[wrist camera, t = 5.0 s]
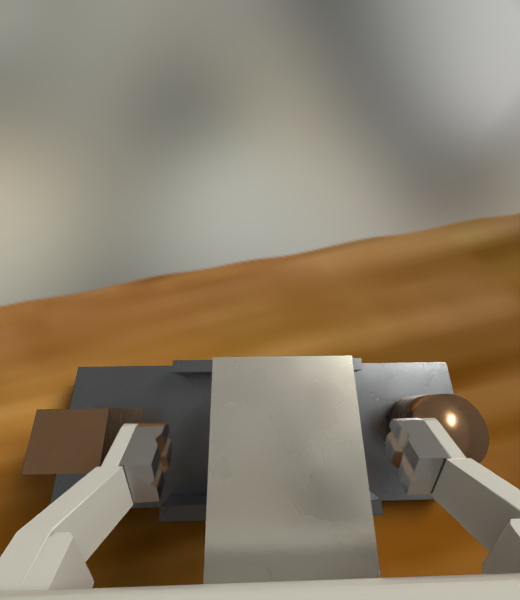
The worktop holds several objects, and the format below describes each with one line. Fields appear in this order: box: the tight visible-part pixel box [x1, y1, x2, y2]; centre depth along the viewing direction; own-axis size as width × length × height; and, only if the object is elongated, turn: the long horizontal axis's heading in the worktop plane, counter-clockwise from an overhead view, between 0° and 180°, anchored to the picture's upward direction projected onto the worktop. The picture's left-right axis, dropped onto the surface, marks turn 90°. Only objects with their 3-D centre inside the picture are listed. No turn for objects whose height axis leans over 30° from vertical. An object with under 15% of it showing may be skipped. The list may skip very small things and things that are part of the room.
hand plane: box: [21, 358, 489, 522], centre depth 15 cm, size 22×7×6 cm, turn 91°
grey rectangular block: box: [203, 356, 381, 584], centre depth 11 cm, size 4×5×9 cm
